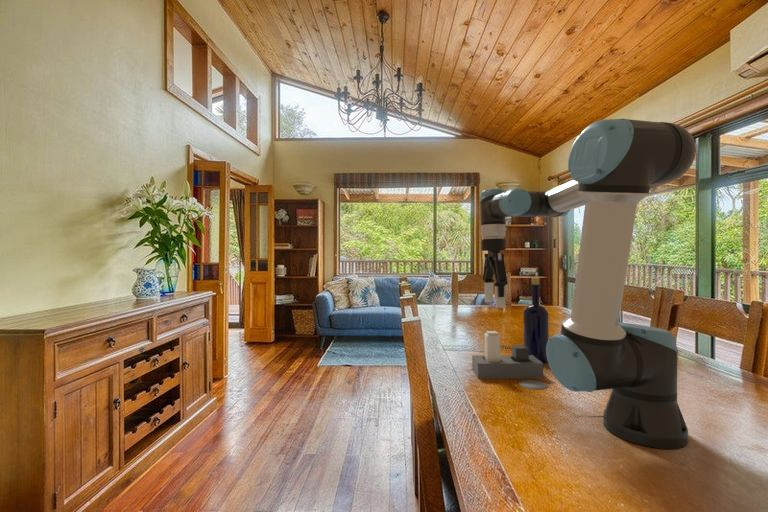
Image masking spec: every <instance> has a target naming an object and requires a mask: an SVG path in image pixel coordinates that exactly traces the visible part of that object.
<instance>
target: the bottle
mask: <svg viewBox="0 0 768 512" xmlns="http://www.w3.org/2000/svg"><path fill="white" fill-rule="evenodd" d="M530 287H531V304H530V305H527V306H526V307H525V308H524V309H523V345H525V346H526V347H528V348H529V355H533V356H534V357H536V358H537V359H538V360H540V361H541V362H542V363H543V365H547V364H548V360H547V355H546V346H547V342H548V340H549V339H550V338H549V311H548V309H547V308H546V307H545V306H544V305H541V304H540V288H541V284H540V277H531V284H530ZM548 365H549V364H548Z"/></svg>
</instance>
